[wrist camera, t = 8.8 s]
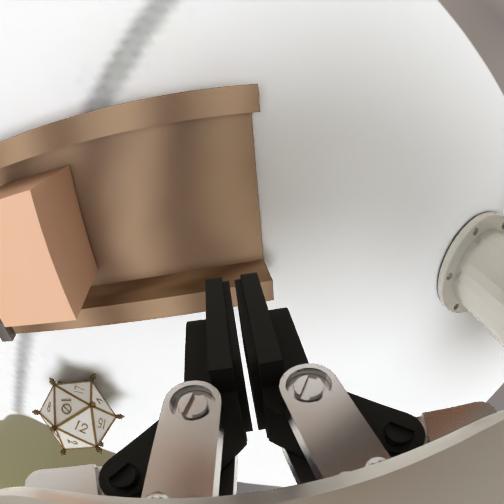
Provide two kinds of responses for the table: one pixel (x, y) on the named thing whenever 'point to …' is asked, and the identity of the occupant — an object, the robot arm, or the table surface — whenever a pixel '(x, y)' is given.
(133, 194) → the chute
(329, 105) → the table surface
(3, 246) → the block
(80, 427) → the game die
